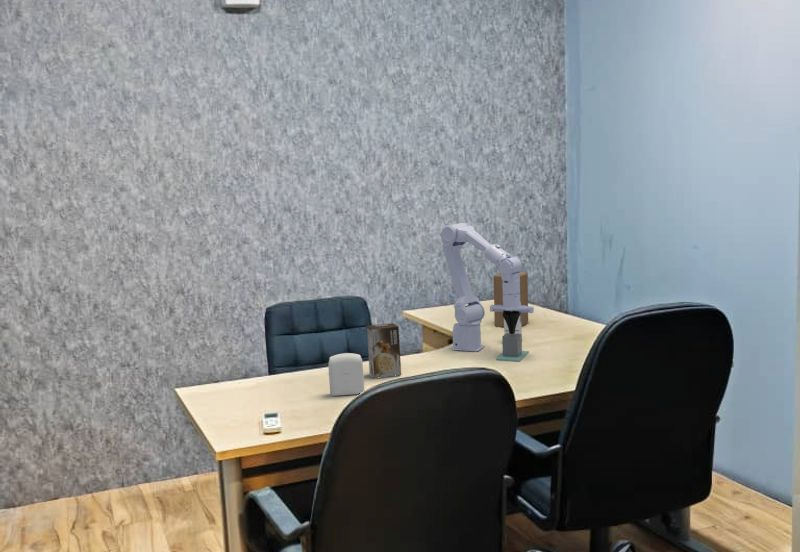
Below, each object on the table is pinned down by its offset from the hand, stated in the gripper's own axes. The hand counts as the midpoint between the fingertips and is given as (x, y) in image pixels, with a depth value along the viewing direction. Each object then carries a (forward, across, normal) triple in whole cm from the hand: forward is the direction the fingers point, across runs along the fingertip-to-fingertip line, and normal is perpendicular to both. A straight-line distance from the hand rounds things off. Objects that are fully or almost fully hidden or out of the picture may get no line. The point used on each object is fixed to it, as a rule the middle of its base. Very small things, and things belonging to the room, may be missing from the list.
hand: (512, 333), depth 315 cm
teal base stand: (+8, 0, 0) cm, 8 cm away
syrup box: (+8, -5, +19) cm, 21 cm away
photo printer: (+8, -36, -54) cm, 65 cm away
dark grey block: (+7, 0, 0) cm, 7 cm away
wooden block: (+8, -13, +46) cm, 48 cm away
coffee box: (+8, -33, -32) cm, 47 cm away
